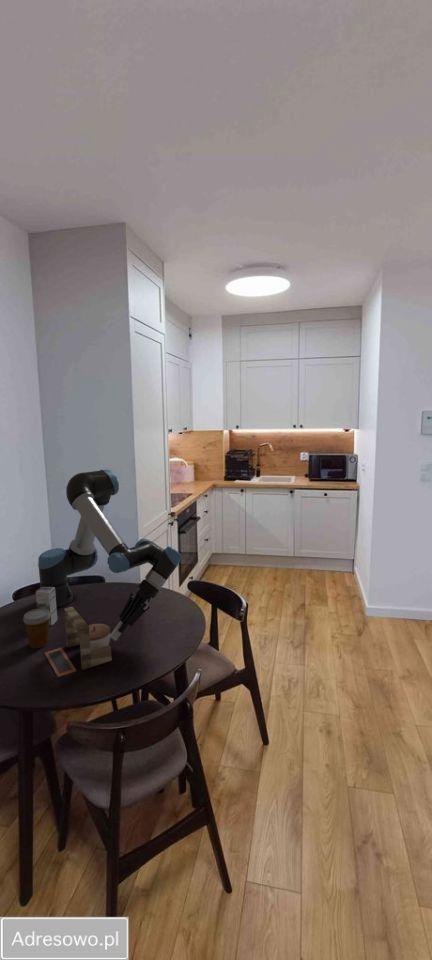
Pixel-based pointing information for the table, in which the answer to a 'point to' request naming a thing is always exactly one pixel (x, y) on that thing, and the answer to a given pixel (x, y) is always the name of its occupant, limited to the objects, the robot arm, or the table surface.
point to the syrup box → (47, 602)
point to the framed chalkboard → (60, 662)
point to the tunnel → (83, 640)
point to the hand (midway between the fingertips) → (112, 638)
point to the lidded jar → (99, 635)
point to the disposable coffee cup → (37, 627)
